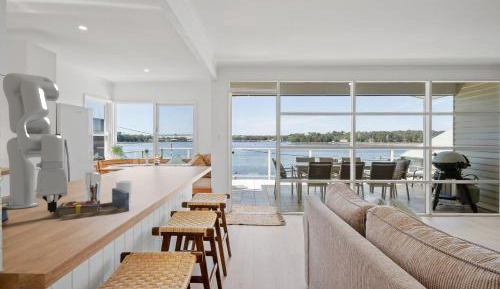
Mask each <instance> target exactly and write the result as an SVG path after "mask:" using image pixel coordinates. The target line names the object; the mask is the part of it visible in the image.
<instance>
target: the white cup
mask: <svg viewBox="0 0 500 289" xmlns="http://www.w3.org/2000/svg"><path fill="white" fill-rule="evenodd" d="M133 184H134V180H118V181H115V188H117V189H120V190H123V191H126V192H129V203H130V202H133V187H134V186H133Z"/></svg>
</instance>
